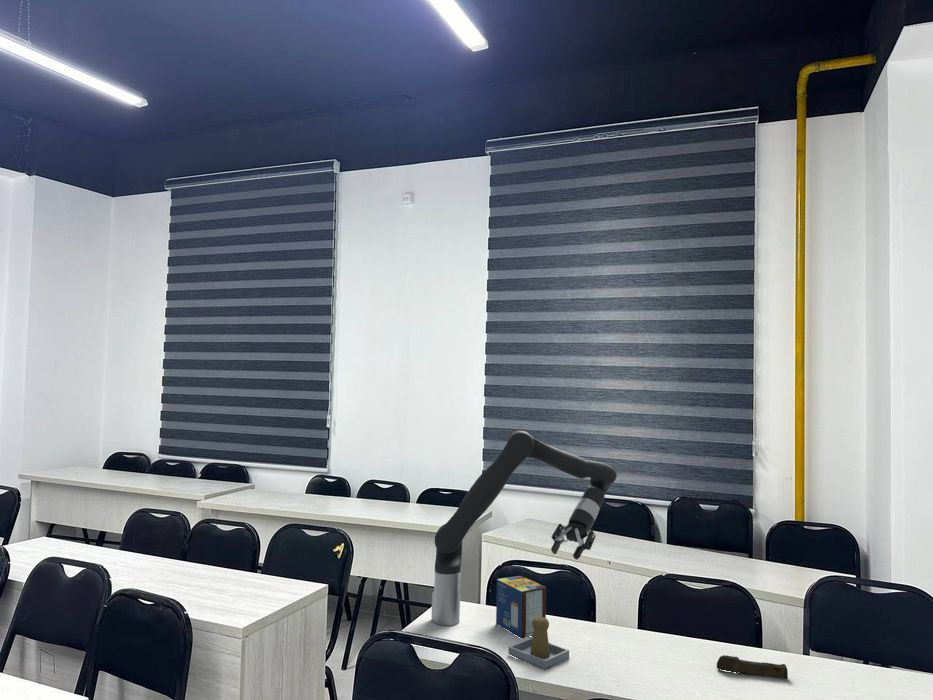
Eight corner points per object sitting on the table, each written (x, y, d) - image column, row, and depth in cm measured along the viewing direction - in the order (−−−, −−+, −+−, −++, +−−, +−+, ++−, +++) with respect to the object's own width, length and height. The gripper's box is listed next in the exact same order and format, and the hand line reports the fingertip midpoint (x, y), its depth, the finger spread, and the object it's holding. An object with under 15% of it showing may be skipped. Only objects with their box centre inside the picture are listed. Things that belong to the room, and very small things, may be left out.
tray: (508, 655, 190) (508, 646, 190) (533, 645, 198) (533, 637, 199) (544, 670, 180) (545, 661, 180) (569, 659, 188) (569, 650, 189)
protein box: (519, 619, 222) (520, 575, 223) (546, 634, 208) (546, 586, 210) (495, 624, 216) (496, 578, 218) (520, 639, 203) (521, 590, 204)
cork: (537, 660, 186) (538, 622, 186) (526, 653, 191) (526, 616, 192) (554, 656, 188) (554, 619, 189) (542, 649, 194) (542, 613, 195)
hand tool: (785, 676, 181) (785, 659, 181) (788, 682, 177) (788, 665, 177) (716, 667, 186) (715, 651, 186) (717, 672, 182) (717, 656, 182)
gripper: (562, 504, 213) (541, 544, 204) (598, 511, 203) (577, 552, 194) (571, 518, 216) (551, 557, 207) (607, 525, 206) (587, 567, 197)
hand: (564, 555), depth 201 cm, fingers open, 8 cm apart
